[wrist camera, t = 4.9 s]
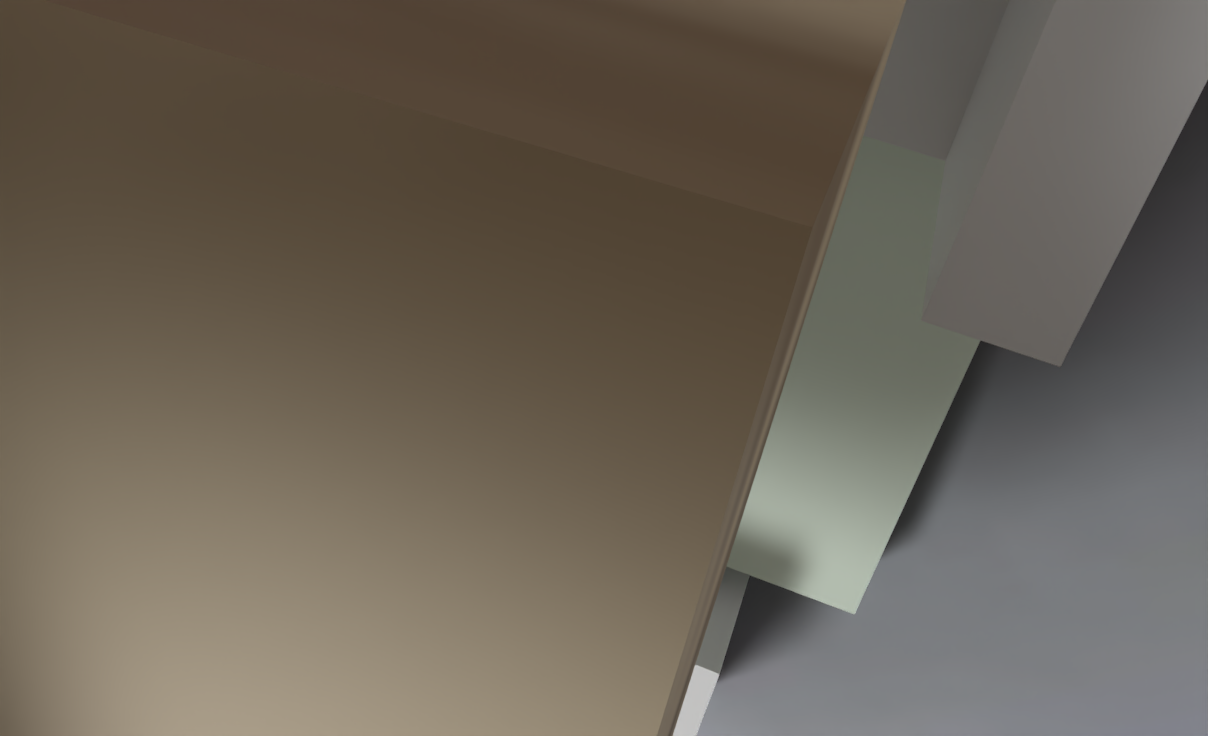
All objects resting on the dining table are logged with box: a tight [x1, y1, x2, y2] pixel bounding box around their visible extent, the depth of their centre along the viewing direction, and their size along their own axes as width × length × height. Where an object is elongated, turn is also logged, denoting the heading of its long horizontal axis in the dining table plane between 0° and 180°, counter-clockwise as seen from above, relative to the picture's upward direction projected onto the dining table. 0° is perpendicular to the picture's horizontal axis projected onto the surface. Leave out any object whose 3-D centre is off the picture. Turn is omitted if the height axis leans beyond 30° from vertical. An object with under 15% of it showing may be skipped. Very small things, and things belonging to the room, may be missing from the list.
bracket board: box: [673, 0, 1208, 736], centre depth 13 cm, size 15×8×6 cm, turn 168°
